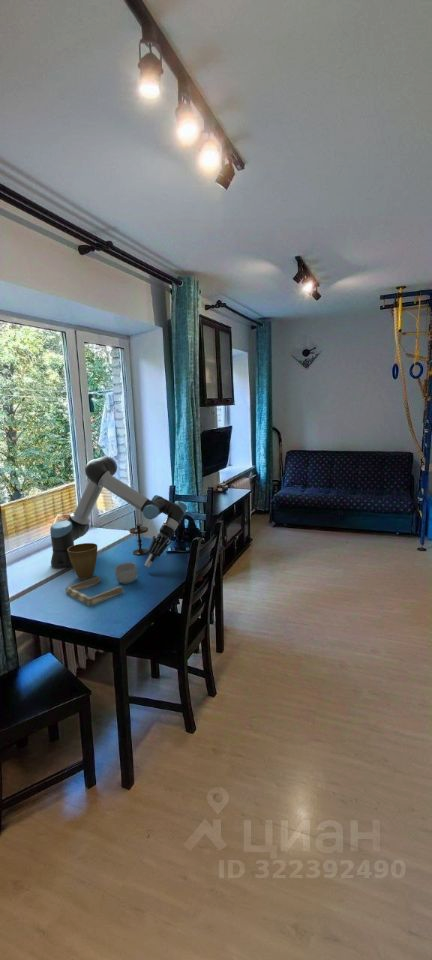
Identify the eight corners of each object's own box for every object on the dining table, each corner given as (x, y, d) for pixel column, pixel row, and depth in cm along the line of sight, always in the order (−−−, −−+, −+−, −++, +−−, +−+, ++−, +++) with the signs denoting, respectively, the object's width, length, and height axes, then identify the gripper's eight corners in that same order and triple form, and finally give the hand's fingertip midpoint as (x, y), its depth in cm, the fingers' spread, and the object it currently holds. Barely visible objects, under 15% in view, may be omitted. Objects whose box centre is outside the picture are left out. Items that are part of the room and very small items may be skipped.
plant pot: (106, 575, 234) (103, 546, 231) (80, 584, 224) (77, 554, 221) (90, 569, 244) (87, 540, 241) (65, 577, 234) (61, 548, 231)
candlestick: (148, 555, 261) (143, 496, 255) (129, 556, 261) (124, 497, 255) (151, 549, 272) (146, 492, 265) (133, 550, 272) (128, 493, 265)
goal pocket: (66, 593, 214) (65, 587, 214) (98, 581, 226) (98, 576, 226) (90, 605, 200) (89, 599, 199) (122, 592, 212) (122, 586, 212)
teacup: (133, 586, 219) (131, 570, 217) (112, 585, 221) (110, 569, 220) (143, 575, 232) (141, 560, 231) (123, 574, 235) (122, 559, 233)
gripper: (180, 533, 241) (158, 572, 232) (165, 529, 250) (143, 566, 241) (172, 526, 237) (150, 565, 228) (156, 522, 245) (134, 560, 237)
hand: (146, 566), depth 235 cm, fingers closed
